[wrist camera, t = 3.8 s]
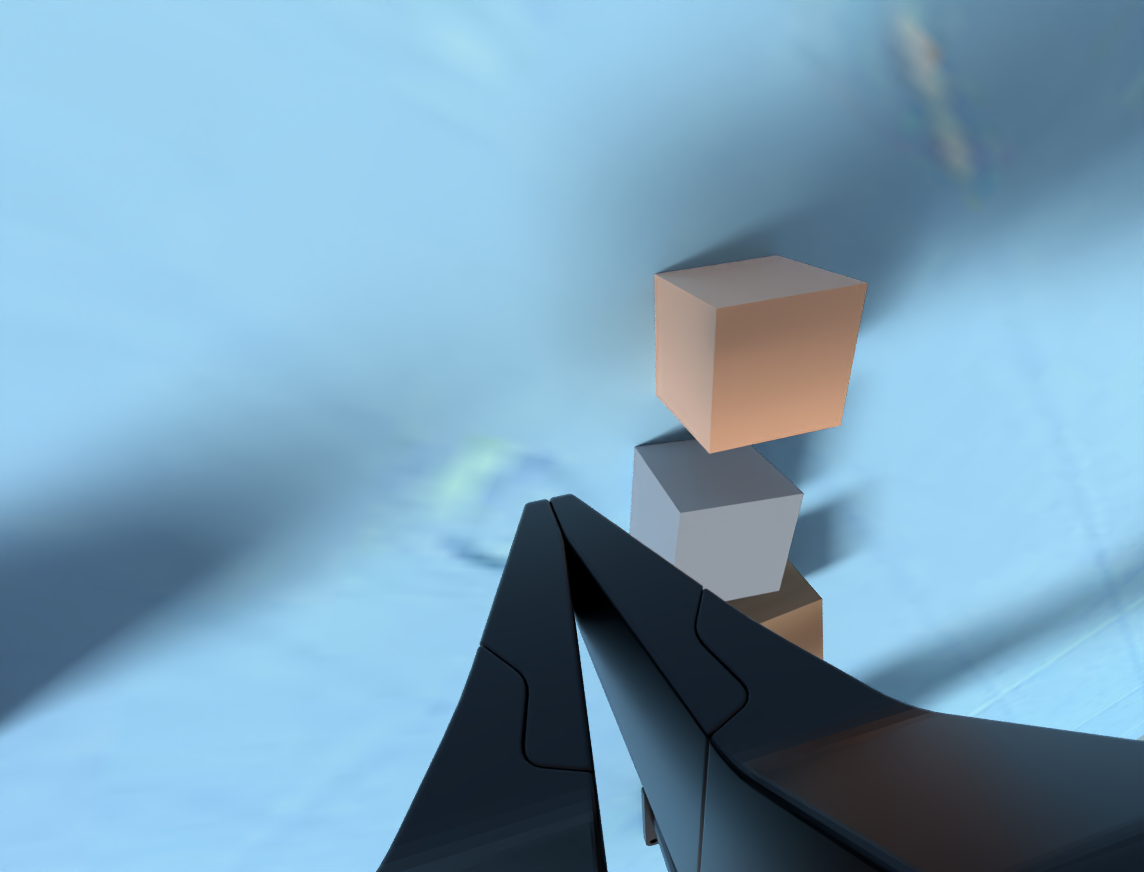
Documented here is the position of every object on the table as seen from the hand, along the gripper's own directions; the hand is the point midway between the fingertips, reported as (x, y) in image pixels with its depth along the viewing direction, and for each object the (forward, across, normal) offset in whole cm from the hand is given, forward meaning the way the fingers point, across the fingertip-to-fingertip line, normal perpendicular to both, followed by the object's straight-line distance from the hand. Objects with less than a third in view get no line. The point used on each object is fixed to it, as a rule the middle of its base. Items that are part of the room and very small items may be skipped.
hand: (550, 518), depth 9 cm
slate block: (+8, -6, +6) cm, 11 cm away
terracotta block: (+8, -7, 0) cm, 10 cm away
